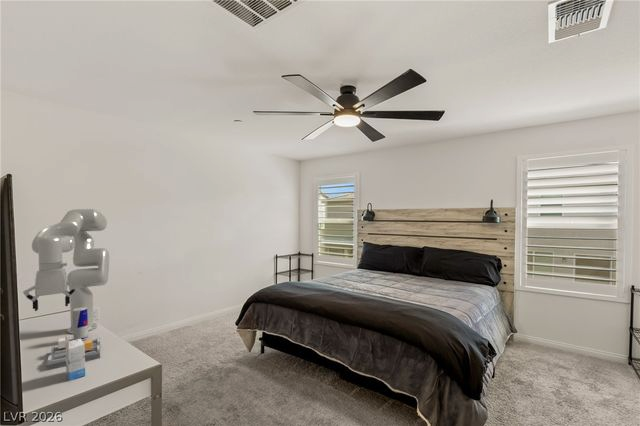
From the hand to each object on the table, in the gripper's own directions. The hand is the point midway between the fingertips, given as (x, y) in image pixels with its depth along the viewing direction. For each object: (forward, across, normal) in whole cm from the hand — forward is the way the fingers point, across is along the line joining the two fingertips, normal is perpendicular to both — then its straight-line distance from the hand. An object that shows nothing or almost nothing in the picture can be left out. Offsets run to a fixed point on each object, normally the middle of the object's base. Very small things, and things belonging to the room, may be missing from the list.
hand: (51, 307), depth 132 cm
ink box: (+22, -8, +22) cm, 32 cm away
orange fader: (+19, -12, +6) cm, 23 cm away
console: (+21, -8, +1) cm, 23 cm away
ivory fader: (+19, -3, -4) cm, 20 cm away
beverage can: (+21, -9, -19) cm, 30 cm away
